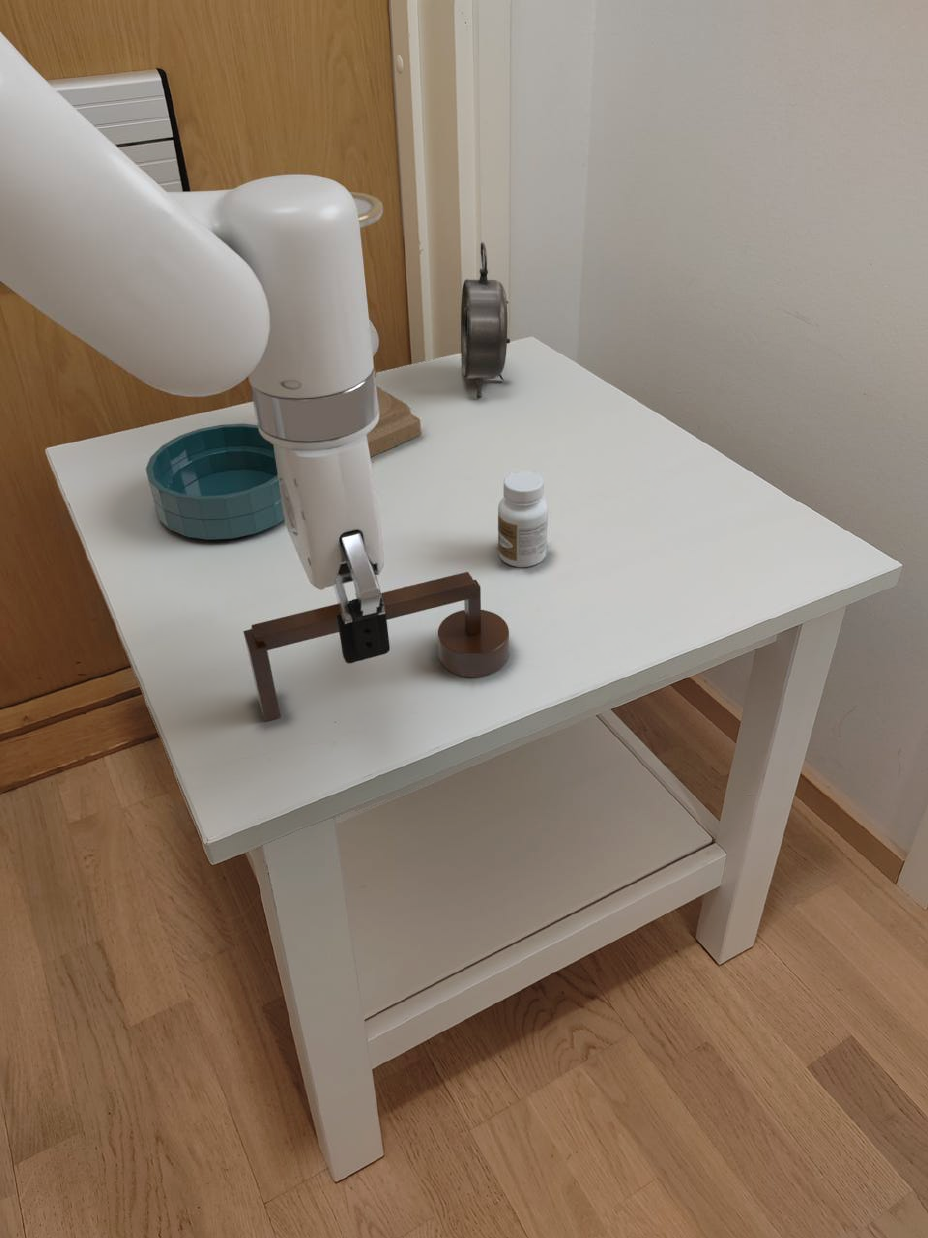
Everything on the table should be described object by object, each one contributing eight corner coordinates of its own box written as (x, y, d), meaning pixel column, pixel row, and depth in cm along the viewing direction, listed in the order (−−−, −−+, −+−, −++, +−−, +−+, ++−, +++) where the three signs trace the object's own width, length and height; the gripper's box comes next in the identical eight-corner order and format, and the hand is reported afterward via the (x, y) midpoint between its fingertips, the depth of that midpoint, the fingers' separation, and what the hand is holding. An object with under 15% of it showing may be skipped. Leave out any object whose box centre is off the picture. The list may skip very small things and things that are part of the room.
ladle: (492, 624, 79) (492, 548, 74) (519, 666, 75) (521, 589, 70) (254, 687, 74) (237, 610, 69) (269, 736, 70) (252, 658, 65)
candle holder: (363, 401, 111) (342, 182, 96) (423, 434, 104) (410, 205, 89) (284, 432, 105) (247, 206, 90) (341, 469, 99) (312, 232, 84)
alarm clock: (460, 363, 118) (456, 228, 108) (503, 361, 118) (504, 226, 108) (465, 404, 110) (462, 261, 99) (512, 401, 110) (513, 259, 99)
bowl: (168, 558, 87) (156, 512, 84) (150, 483, 98) (138, 439, 94) (319, 524, 91) (312, 479, 88) (286, 455, 101) (279, 413, 98)
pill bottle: (491, 545, 88) (490, 472, 83) (536, 536, 89) (538, 463, 84) (507, 572, 84) (507, 498, 79) (553, 563, 85) (557, 488, 80)
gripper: (229, 355, 64) (272, 561, 75) (286, 481, 51) (328, 707, 62) (338, 335, 65) (364, 539, 76) (419, 451, 53) (436, 676, 64)
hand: (348, 614), depth 69 cm, fingers open, 9 cm apart
